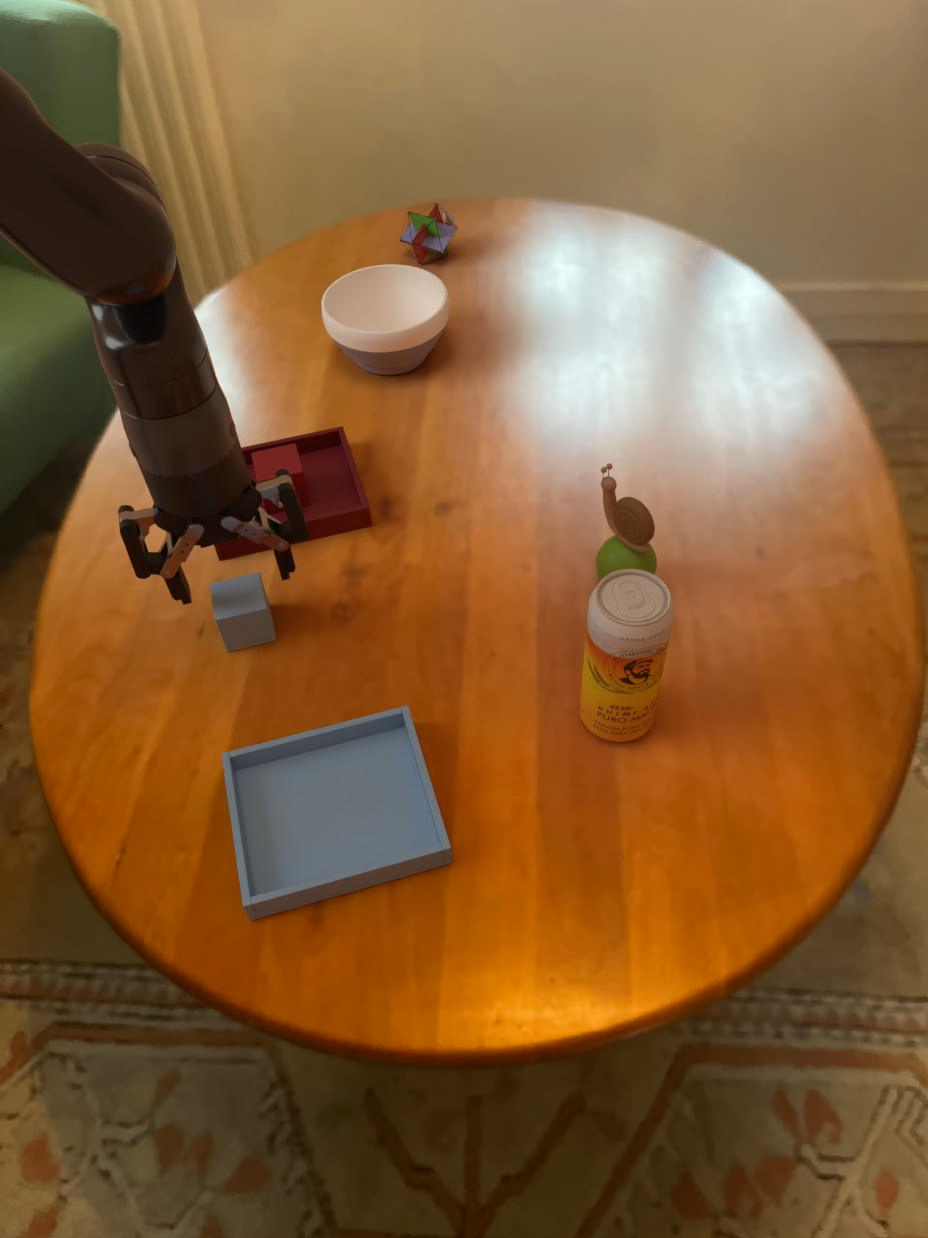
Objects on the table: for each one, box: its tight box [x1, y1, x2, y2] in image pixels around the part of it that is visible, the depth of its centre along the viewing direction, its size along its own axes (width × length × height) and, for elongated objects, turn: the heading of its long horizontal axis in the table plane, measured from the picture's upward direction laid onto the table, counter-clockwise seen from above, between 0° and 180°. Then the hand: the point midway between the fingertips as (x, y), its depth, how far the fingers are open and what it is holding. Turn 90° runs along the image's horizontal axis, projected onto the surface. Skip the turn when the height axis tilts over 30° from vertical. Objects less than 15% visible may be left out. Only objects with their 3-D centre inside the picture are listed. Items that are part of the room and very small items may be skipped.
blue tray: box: [221, 704, 454, 921], centre depth 73 cm, size 15×13×2 cm
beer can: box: [578, 569, 676, 743], centre depth 73 cm, size 6×6×15 cm
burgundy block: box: [251, 444, 310, 514], centre depth 95 cm, size 4×4×4 cm
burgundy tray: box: [213, 425, 373, 561], centre depth 96 cm, size 15×13×2 cm
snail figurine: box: [595, 463, 658, 581], centre depth 84 cm, size 5×6×12 cm
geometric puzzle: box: [398, 202, 459, 266], centre depth 124 cm, size 7×7×8 cm
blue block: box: [209, 571, 277, 653], centre depth 85 cm, size 4×4×4 cm
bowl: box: [320, 263, 450, 376], centre depth 110 cm, size 14×14×8 cm
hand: (235, 585), depth 82 cm, fingers open, 8 cm apart
